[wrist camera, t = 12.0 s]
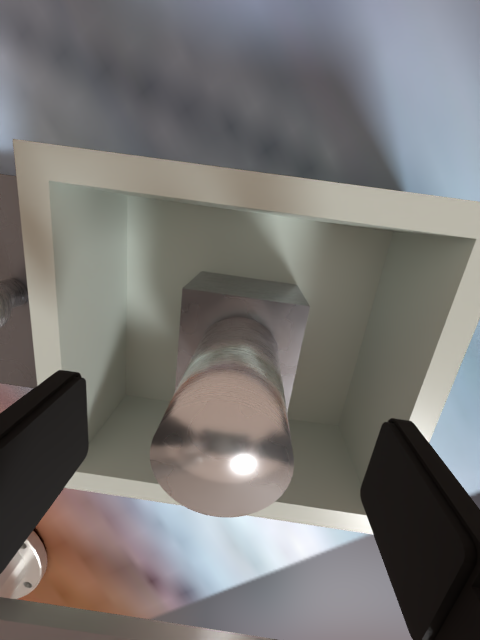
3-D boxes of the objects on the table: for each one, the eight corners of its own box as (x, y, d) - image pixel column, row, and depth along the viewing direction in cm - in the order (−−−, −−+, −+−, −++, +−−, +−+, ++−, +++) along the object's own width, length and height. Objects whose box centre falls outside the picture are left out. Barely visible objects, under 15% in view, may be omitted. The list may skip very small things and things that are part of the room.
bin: (347, 432, 23) (390, 537, 15) (115, 398, 23) (47, 485, 16) (412, 213, 18) (524, 207, 10) (115, 172, 18) (13, 138, 11)
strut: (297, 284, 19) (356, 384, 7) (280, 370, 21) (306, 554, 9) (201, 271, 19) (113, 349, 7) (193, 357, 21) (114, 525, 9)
